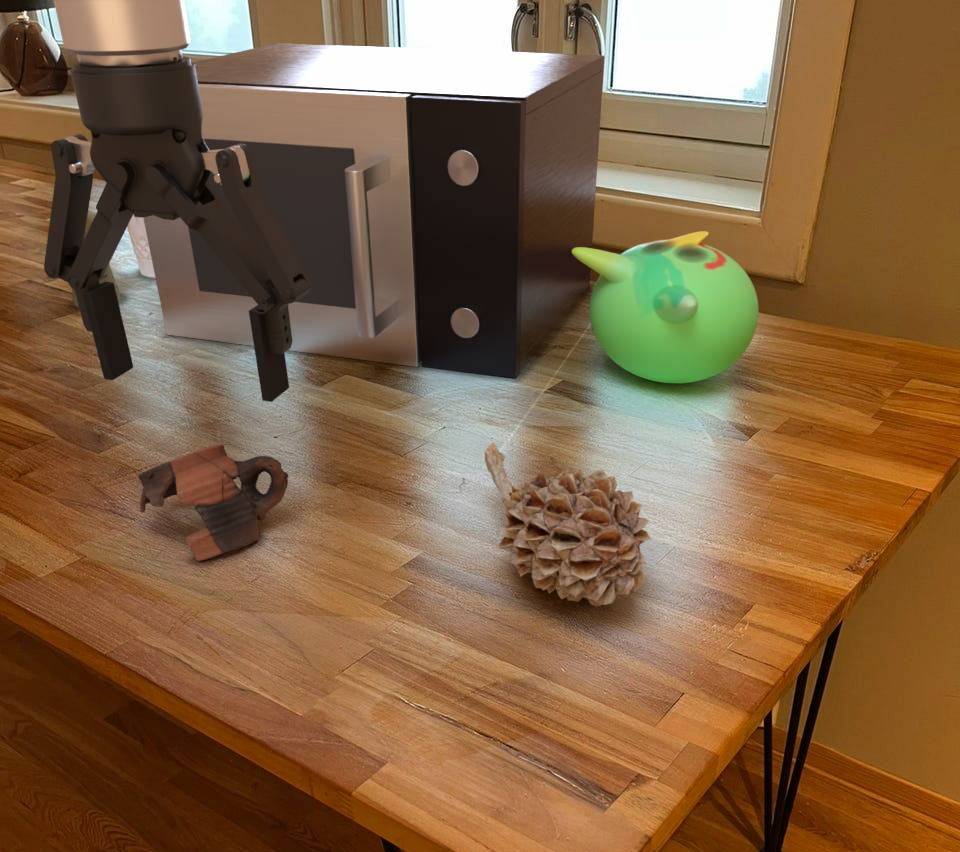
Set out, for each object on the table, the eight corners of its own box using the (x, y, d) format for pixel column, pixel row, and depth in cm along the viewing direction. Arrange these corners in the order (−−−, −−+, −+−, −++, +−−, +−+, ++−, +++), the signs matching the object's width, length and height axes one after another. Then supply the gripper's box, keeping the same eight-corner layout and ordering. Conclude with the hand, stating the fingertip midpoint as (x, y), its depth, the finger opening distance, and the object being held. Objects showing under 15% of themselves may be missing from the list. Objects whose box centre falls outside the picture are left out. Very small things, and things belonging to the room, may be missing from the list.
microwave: (513, 382, 105) (518, 101, 88) (164, 337, 116) (111, 80, 100) (589, 285, 131) (604, 55, 115) (299, 256, 143) (275, 43, 126)
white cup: (204, 270, 137) (191, 195, 131) (155, 283, 133) (139, 206, 126) (173, 259, 141) (159, 186, 135) (125, 271, 137) (108, 196, 131)
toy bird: (774, 377, 106) (801, 237, 97) (682, 424, 96) (703, 274, 87) (644, 336, 116) (657, 205, 107) (549, 374, 106) (555, 235, 97)
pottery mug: (161, 579, 75) (115, 479, 73) (181, 566, 84) (140, 477, 82) (305, 523, 76) (263, 423, 74) (309, 515, 85) (272, 426, 83)
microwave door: (393, 391, 103) (375, 108, 86) (132, 355, 111) (72, 91, 95) (422, 362, 109) (411, 94, 93) (174, 330, 117) (124, 79, 101)
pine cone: (681, 619, 70) (699, 498, 64) (571, 661, 66) (580, 537, 60) (520, 492, 85) (523, 385, 79) (424, 520, 81) (419, 410, 75)
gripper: (339, 54, 59) (367, 384, 72) (8, 44, 66) (87, 348, 79) (281, 69, 54) (323, 424, 66) (-75, 57, 60) (25, 382, 73)
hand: (195, 384), depth 73 cm, fingers open, 13 cm apart
